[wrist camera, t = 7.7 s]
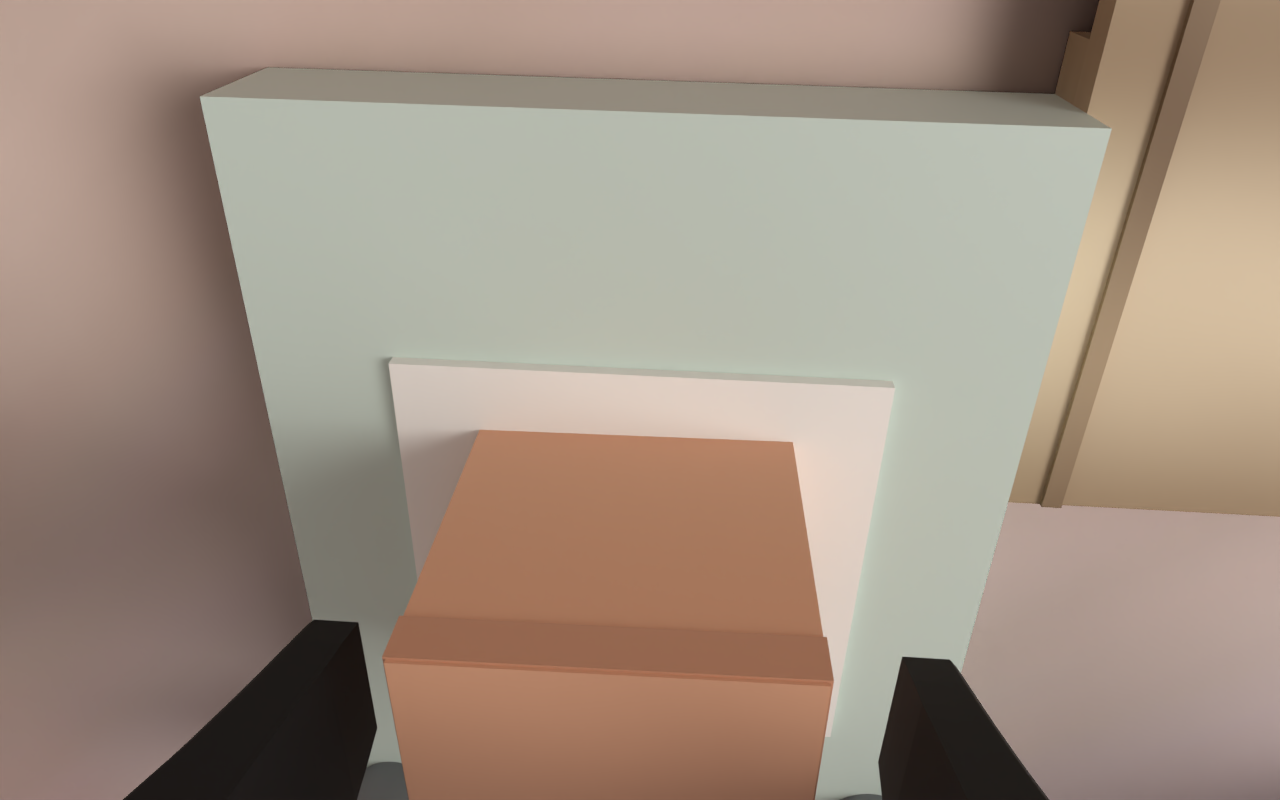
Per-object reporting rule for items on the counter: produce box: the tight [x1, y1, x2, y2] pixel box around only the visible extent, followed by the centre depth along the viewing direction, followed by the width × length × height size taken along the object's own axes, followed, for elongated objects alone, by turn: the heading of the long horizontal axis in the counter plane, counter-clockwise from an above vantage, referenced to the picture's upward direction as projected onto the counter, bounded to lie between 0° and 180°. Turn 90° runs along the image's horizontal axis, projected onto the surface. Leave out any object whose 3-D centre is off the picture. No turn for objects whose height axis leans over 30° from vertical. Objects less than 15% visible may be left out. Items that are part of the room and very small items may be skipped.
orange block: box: [382, 430, 834, 800], centre depth 12 cm, size 5×4×4 cm
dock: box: [200, 67, 1112, 800], centre depth 14 cm, size 14×11×5 cm
